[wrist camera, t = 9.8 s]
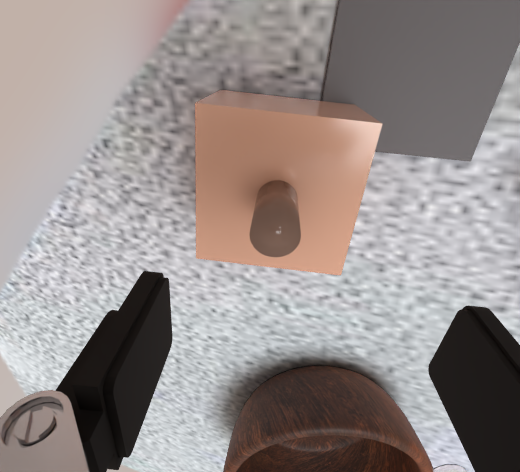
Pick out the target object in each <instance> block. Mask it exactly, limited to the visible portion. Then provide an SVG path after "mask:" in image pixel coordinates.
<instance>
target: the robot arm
mask: <svg viewBox="0 0 520 472" xmlns="http://www.w3.org/2000/svg"><path fill="white" fill-rule="evenodd" d="M171 344H172V324H171V307H170V290H169V279H168V278H164V277H163V274H162V273H158V272H148V271H144V272H143V273H142V274H141V276H140V277H139V279H138V280H137V282H136V283H135V285H134V287H133V288H132V290H131V291H130V293H129V295H128V296H127V298H126V299H125V301H124V302H123V304H122V306H121V307H120V309H119V310H118V311H117V310H111V311H109V312H108V313H107V315H106V316H105V317H104V319H103V320H102V322H101V323H100V325H99V326H98V328H97V329H96V331H95V332H94V334H93V335H92V337H91V338H90V340H89V341H88V343H87V344H86V346H85V347H84V349H83V350H82V352H81V353H80V355H79V356H78V358H77V359H76V361H75V362H74V364H73V365H72V367H71V368H70V370H69V371H68V373H67V374H66V376H65V377H64V379H63V380H62V382H61V383H60V385H59V386H58V388H57V389H56V391H53V390H48V391H40V392H37V393H34V394H31V395H28V396H27V397H25V398H23V399H21V400H19V401H18V402H16V403H15V404H14V405H13V406H11V407H10V408H9V409H7V411H6V412H5V413H4V414H3V415H2V416H1V417H0V472H106V471H107V469H113V470H119V467H120V465H121V462H122V459H123V457H129V456H130V455H131V453H132V451H133V448H134V445H135V443H136V440H137V437H138V435H139V432H140V429H141V426H142V424H143V421H144V418H145V416H146V413H147V410H148V408H149V405H150V402H151V399H152V397H153V394H154V391H155V389H156V386H157V383H158V381H159V378H160V375H161V372H162V370H163V367H164V364H165V362H166V359H167V356H168V354H169V351H170V348H171ZM429 375H430V378H431V380H432V382H433V384H434V386H435V388H436V390H437V392H438V395H439V397H440V399H441V401H442V403H443V405H444V407H445V409H446V411H447V413H448V416H449V418H450V420H451V422H452V424H453V426H454V428H455V430H456V432H457V435H458V437H459V439H460V441H461V443H462V445H463V447H464V449H465V451H466V453H467V456H468V458H469V460H470V462H471V464H472V466H473V468H474V470H475V472H520V345H519V344H518V342H517V341H516V340H515V339H514V338H513V336H512V335H511V334H510V333H509V332H508V330H507V329H506V328H505V327H504V326H503V325H502V323H501V322H500V321H499V320H498V319H497V317H496V316H495V315H494V314H493V313H492V311H491V310H489V309H488V308H485V307H476V306H465V307H464V308H463V309H462V310H459V311H458V312H457V314H456V316H455V318H454V319H453V321H452V323H451V325H450V327H449V329H448V331H447V332H446V334H445V336H444V338H443V340H442V342H441V344H440V345H439V347H438V349H437V351H436V353H435V355H434V357H433V359H432V360H431V362H430V364H429Z"/></svg>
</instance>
